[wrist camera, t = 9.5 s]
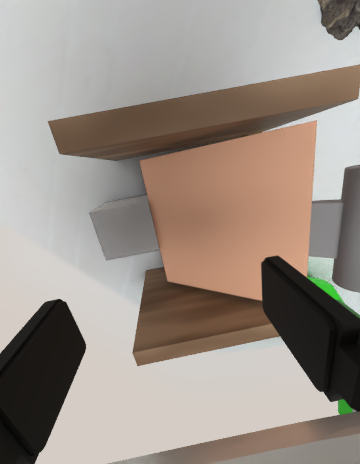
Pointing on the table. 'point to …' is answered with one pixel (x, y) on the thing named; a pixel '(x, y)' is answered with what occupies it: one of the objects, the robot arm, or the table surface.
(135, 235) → the grey cube
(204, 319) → the wooden bench
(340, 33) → the rock specimen
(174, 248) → the trapdoor
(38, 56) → the table surface
